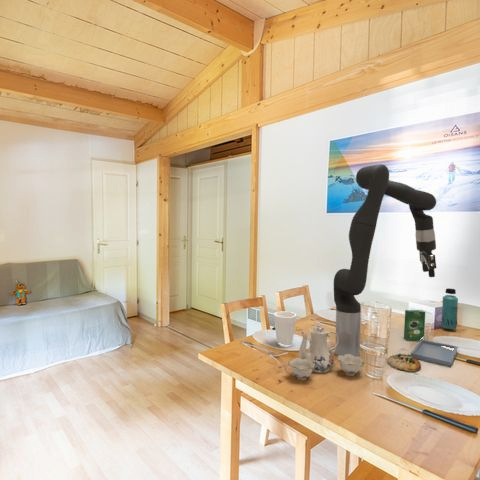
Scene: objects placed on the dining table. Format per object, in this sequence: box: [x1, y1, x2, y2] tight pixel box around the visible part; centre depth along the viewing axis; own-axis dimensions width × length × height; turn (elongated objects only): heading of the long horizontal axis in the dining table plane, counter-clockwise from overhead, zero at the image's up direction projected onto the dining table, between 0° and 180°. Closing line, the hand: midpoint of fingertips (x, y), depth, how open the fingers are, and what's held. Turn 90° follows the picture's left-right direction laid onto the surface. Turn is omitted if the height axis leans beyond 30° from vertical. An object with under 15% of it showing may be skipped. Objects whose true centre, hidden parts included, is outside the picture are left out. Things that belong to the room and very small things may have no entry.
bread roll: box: [386, 353, 422, 373], centre depth 119 cm, size 11×11×5 cm
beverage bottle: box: [441, 288, 459, 330], centre depth 158 cm, size 6×7×20 cm
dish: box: [410, 339, 459, 369], centre depth 129 cm, size 19×13×2 cm
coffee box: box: [403, 309, 426, 342], centre depth 145 cm, size 8×3×13 cm, turn 93°
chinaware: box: [284, 322, 365, 381], centre depth 114 cm, size 28×17×17 cm, turn 106°
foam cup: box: [273, 310, 297, 345], centre depth 139 cm, size 10×9×13 cm
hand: (428, 274), depth 148 cm, fingers open, 8 cm apart
